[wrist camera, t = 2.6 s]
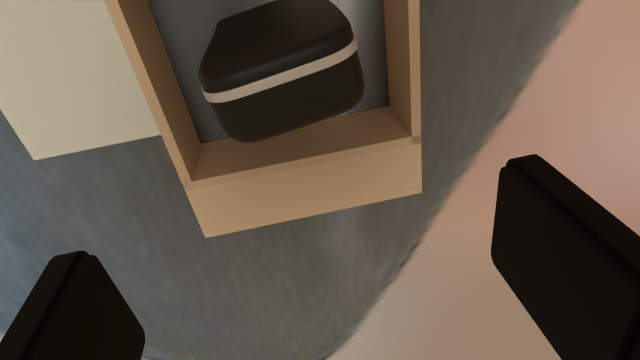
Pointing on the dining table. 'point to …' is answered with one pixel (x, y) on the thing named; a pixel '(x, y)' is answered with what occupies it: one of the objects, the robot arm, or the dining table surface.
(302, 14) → the battery charger
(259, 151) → the carton
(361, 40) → the dining table surface
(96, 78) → the mat
